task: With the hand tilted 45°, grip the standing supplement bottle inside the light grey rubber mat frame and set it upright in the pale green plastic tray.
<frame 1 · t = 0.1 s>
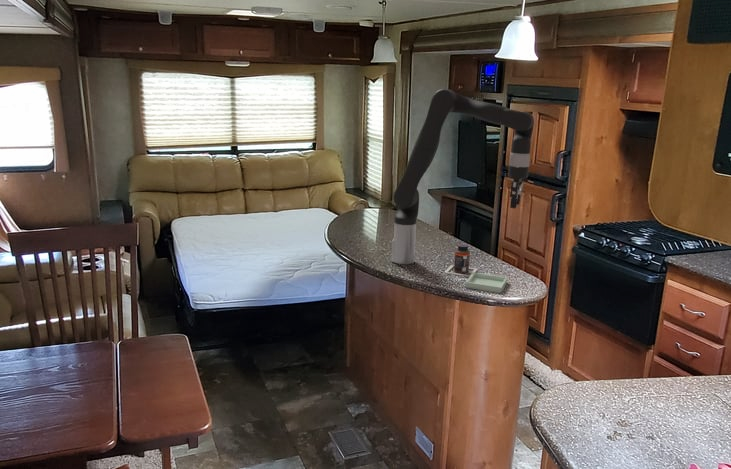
hand: (514, 206, 224), 29 cm above the countertop, tool pointing down, fingers open, 8 cm apart
supplement bottle: (461, 272, 236), resting in mat frame
mat frame: (461, 271, 236), on the countertop
tray: (486, 285, 221), on the countertop
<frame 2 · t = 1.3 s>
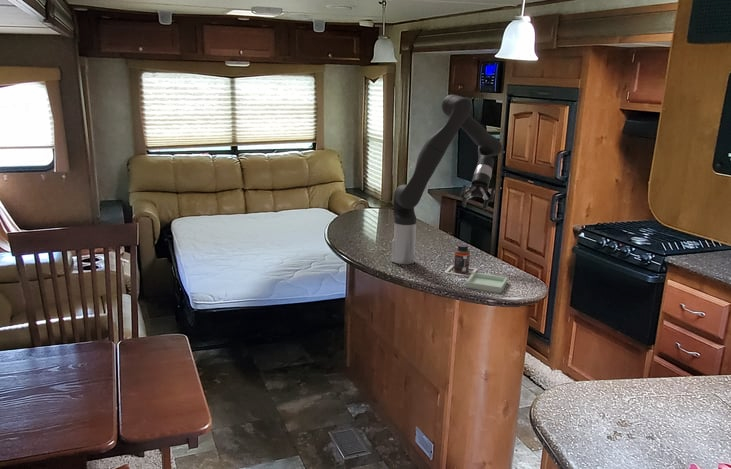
hand: (473, 207, 243), 25 cm above the countertop, tool tilted 45°, fingers open, 8 cm apart
nothing on the countertop moved.
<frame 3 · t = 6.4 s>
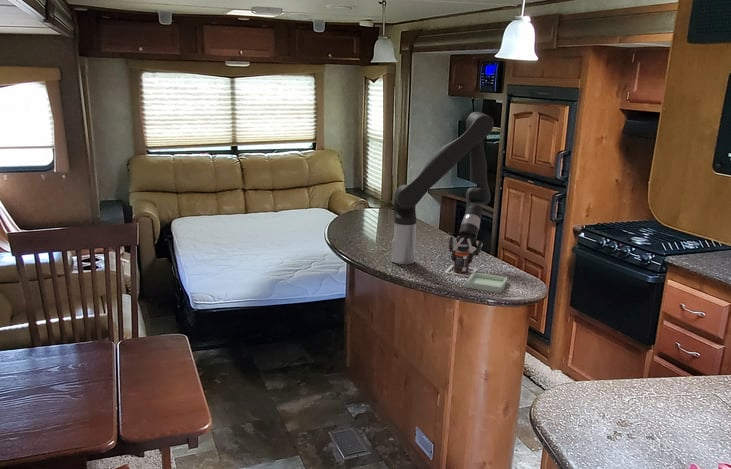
hand: (460, 261, 233), 5 cm above the countertop, tool tilted 45°, fingers closed on supplement bottle, 6 cm apart
supplement bottle: (461, 272, 236), resting in mat frame, touching gripper
when the fingers open (7 cm above the countertop, at t = 12.0 s): supplement bottle drops 1 cm, resting on tray.
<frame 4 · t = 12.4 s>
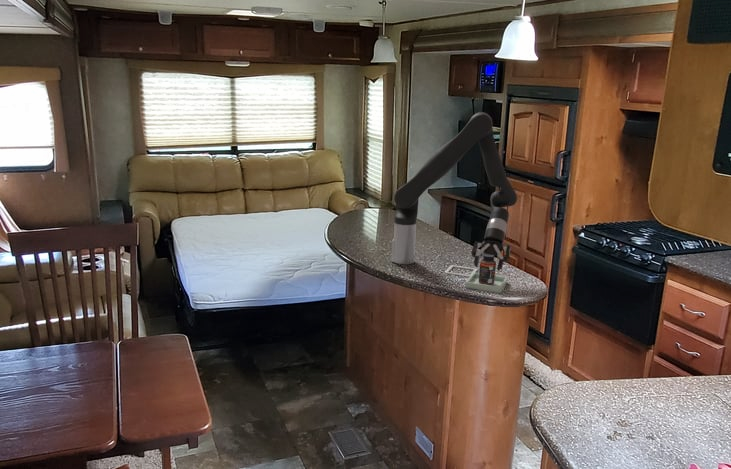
hand: (487, 267, 218), 7 cm above the countertop, tool tilted 45°, fingers open, 8 cm apart
supplement bottle: (486, 283, 221), resting on tray
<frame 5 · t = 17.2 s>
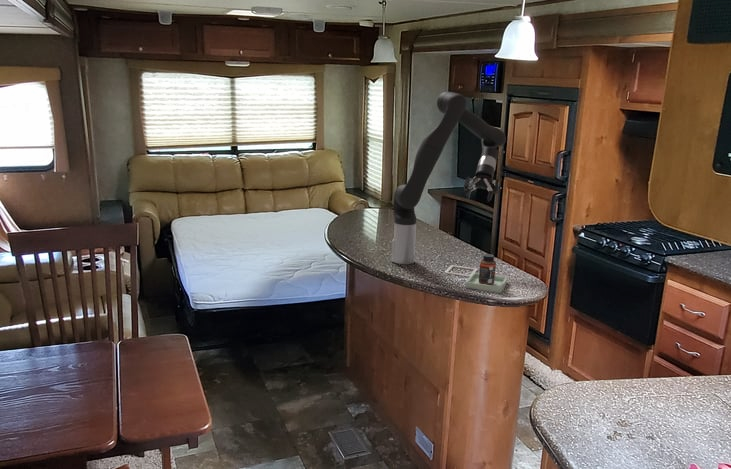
hand: (478, 199, 240), 29 cm above the countertop, tool tilted 45°, fingers open, 8 cm apart
nothing on the countertop moved.
at the end: supplement bottle inside the target area on the tray (0.4 cm from its centre), point 0.4 cm above the tray's base; supplement bottle tilted 0°; the gripper is holding nothing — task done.
